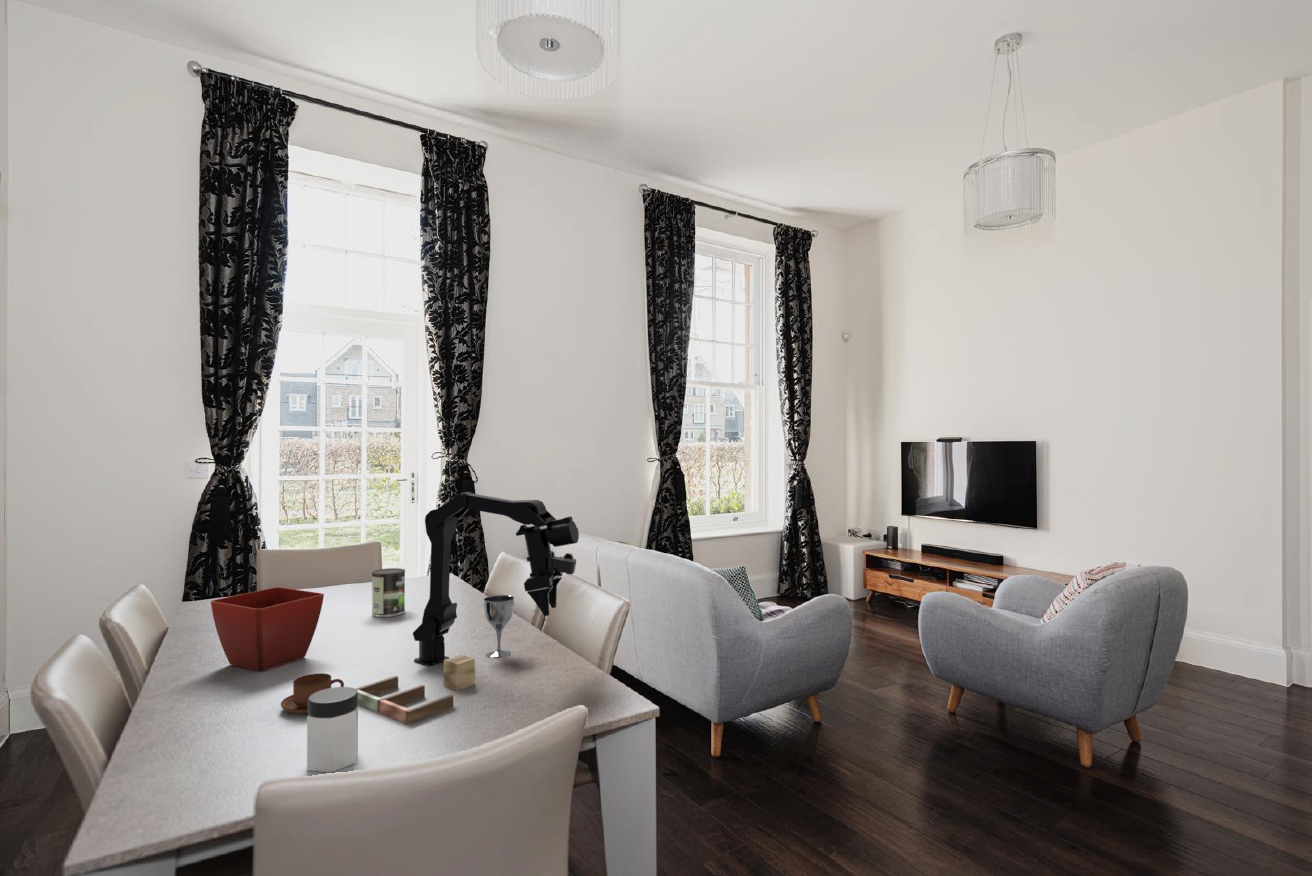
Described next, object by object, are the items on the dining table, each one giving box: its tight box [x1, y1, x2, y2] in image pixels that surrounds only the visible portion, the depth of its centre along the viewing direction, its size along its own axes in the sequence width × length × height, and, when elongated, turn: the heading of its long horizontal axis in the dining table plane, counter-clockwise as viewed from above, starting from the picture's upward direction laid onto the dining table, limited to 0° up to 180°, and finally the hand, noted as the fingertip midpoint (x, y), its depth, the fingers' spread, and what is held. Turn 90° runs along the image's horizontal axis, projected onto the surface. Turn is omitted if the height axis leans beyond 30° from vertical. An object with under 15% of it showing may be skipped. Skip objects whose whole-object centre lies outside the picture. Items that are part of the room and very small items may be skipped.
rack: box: [355, 675, 454, 725], centre depth 149 cm, size 21×11×2 cm, turn 54°
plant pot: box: [210, 586, 325, 672], centre depth 178 cm, size 19×19×17 cm
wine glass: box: [483, 594, 515, 659], centre depth 184 cm, size 8×8×15 cm
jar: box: [306, 686, 359, 773], centre depth 122 cm, size 9×8×12 cm
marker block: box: [443, 654, 476, 691], centre depth 161 cm, size 5×5×6 cm
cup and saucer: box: [280, 672, 345, 715], centre depth 147 cm, size 12×12×6 cm
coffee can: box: [371, 567, 406, 618], centre depth 227 cm, size 10×10×14 cm
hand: (550, 611), depth 171 cm, fingers open, 9 cm apart
